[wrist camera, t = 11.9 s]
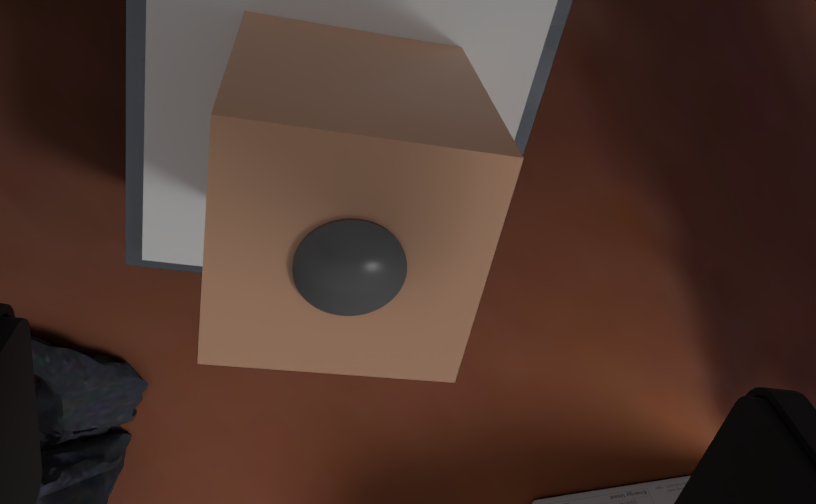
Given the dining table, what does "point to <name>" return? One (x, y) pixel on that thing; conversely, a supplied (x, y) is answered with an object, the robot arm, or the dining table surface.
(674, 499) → the light bulb box
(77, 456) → the dark grey folded cloth
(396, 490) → the dining table surface
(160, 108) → the press bed
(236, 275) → the housing
